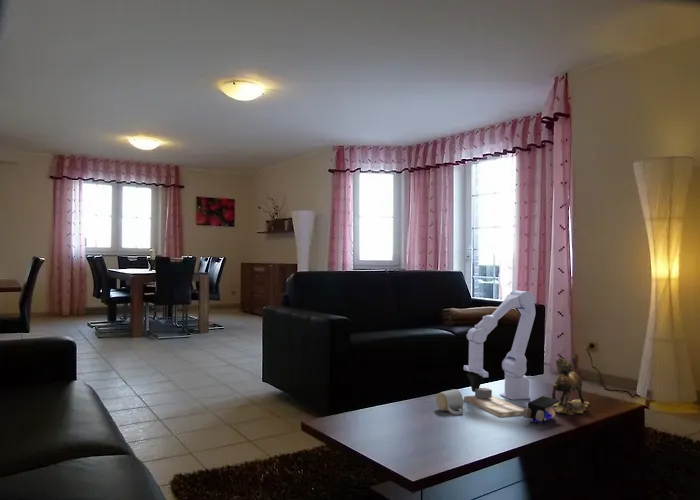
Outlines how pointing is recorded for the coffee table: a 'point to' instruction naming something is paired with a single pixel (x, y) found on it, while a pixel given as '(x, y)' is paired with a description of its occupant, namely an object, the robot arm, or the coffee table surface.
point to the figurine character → (540, 409)
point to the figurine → (568, 388)
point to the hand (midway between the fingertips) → (475, 391)
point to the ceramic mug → (450, 401)
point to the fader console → (495, 406)
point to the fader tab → (483, 393)
